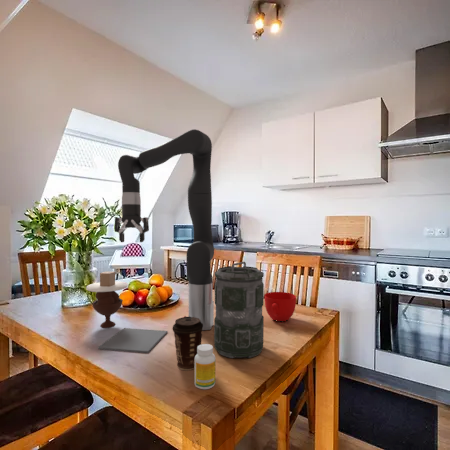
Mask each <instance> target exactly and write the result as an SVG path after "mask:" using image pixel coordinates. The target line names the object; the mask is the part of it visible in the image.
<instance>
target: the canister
mask: <svg viewBox="0 0 450 450" xmlns="http://www.w3.org/2000/svg"><path fill="white" fill-rule="evenodd" d="M246 263H247V262H245V261H240V262H235V263H232V265H230V266H221V267H219V268H217V270H216V271H214V276H215V282H214V306H215V316H214V325H213V328H214V329H213V333H214V335H213V338H214V339H213V343H214V348H215V350H216V351H217V352H218V354H219V355H221V356H223V357H226V358H229V359H233V358H234V359H235V358H247V359H251V358H254V357H257V356H258V355H260V354H261V353H262V350H263V349H264V332H265V331H264V329H265V328H264V321H265V319H264V315H263V306H264V300H265V294H264V293H265V292H264V291H265V290H264V289H265V288H264V287H265V286H264V285H265V284H264V282H263V278H264V276H265V274H264V272H263V271H261V270H260V269H258V268H257V267H255V266H247V264H246ZM240 265H243V266H240Z"/></svg>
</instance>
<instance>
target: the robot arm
mask: <svg viewBox="0 0 450 450" xmlns="http://www.w3.org/2000/svg"><path fill="white" fill-rule="evenodd" d="M212 148H213V146H212V140H211V138H210V137H209V135H207V134H206V133H204V132H203V131H201V130H199V129H190V130H188V131H186V132H184V133H182V134H180V135H179V136H177V137H175V138H173V139H171V140H169V141H166V142H164V143H162V144H160V145H157V146H154V147H152V148H151V147H150V148H148V149H146V150H143V151H141V152H140V153H139V154H138V156H133V155H130V154H123V155H121V156H120V157H119V159H118V163H117V166H118V167H117V168H118V172H119V176H120V181H121V183H122V185H121V189H122V193H121V194H122V195H121V215H122V217H115V218H114V232H116V233H118V235H119V236H118V237H119V239H118V240H119V241H120V243H125V231H126V230H127V229H128V228H129V229H130V228H133V229H134V228H135V229H137V231H138V232H139V243H143V242H144V241H145V236H146V235H145V234H146V233H148V232H149V231H150V228H149V227H150V225H149V217H145V216H144V217H141V214H142V212H141V211H142V209H141V208H142V207H141V205H142V204H141V203H142V202H141V191H140V190H141V187H140V186H141V183H140V181H139V179H138V178H136V177H135V175H137V174H141V173H143V172H144V171H147V170H148V169H149V168H154V167H156V166H159V165H163V164H164V163H166V162H167V161H169V160H170V159H172V158H174V157H176V156H180V155H184V154H186V155H187V154H190V155H192V166H193V167H192V168H193V169H192V174H191V177H190V181H189V184H188V187H187V188H188V189H187V207H188V212H189V216H190V219H191V223H192V227H193V242H192V243H191V244H190V245H188V247H187V251H186V275H187V279H188V317H189V316H190V317H197V318H199V319H200V320H201V323H202V324H203V328H202V331H208V330H209V331H210V330H212V328H213V327H214V319H215V314H214V311H215V308H214V306H215V300H213V275H212V271H211V261H212V260H213V258H214V255H215V247H214V245H215V244H214V239H213V232H212V231H213V230H212V220H213V217H212V215H213V213H212V212H213V209H212V207H213V206H212V205H213V201H212V200H213V199H212V198H213V197H212V195H213V194H212V175H211V174H212V173H211V168H212V167H211V165H212V164H211V163H212V152H213V149H212ZM121 223H122V225H121ZM141 223H143V226H142V224H141Z"/></svg>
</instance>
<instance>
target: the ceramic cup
mask: <svg viewBox="0 0 450 450" xmlns="http://www.w3.org/2000/svg"><path fill="white" fill-rule="evenodd" d="M264 305H265V310H266V313H267V314H268V316H269V317H270V319H271V320H272V319H273V320H277V321H286V320H288V321H289V320H290V319H291V318H292V317H293V315H294V313H295V309H296V305H297V296H296V295H295V294H293V293H291V292H286V291H285V292H284V291H270V292H266V293H265V294H264ZM273 320H272V321H273ZM286 322H287V321H286Z"/></svg>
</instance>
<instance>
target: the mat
mask: <svg viewBox="0 0 450 450" xmlns="http://www.w3.org/2000/svg"><path fill="white" fill-rule="evenodd" d="M167 334H168V330H159V329H158V330H157V329H145V328H143V329H142V328H129V327H128V328H127V327H124V328H122V329H121V330H120V331H118V332H117V333H115V334H114V335H113V336H111V337H110V338H108V339H107V340H105V342H103V343H102V344H101V345H99V346H98V347H97V349H98V350H107V351H118V352H129V353H130V352H131V353H142V354H149V353H150V352H151V351H152V350H153V349H154V347H155V346H156V345H157V344H158V343H159V342H161V340H162V339H163V338H164V337H165V336H166V335H167Z"/></svg>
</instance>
